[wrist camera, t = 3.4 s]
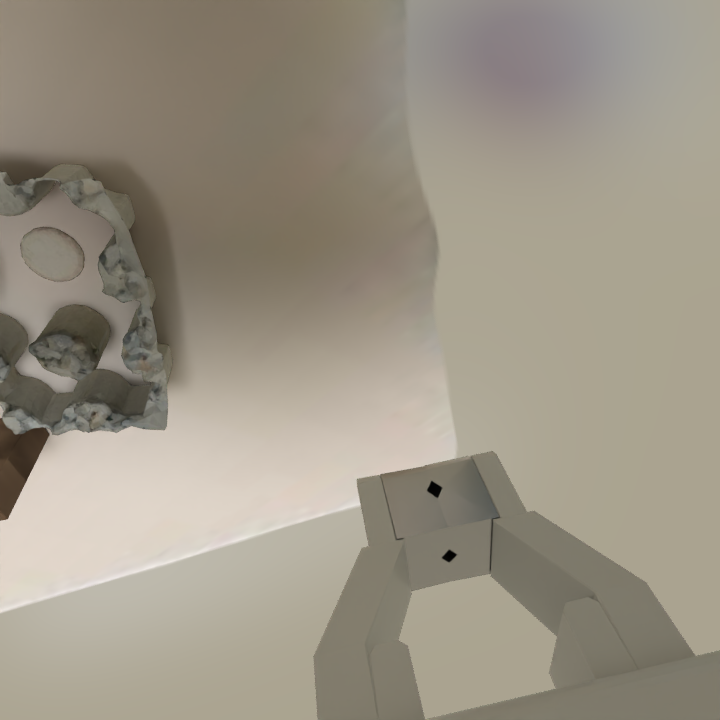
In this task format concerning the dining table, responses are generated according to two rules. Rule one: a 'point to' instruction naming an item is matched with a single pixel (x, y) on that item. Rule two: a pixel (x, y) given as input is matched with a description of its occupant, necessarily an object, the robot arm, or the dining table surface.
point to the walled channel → (17, 463)
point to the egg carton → (82, 322)
